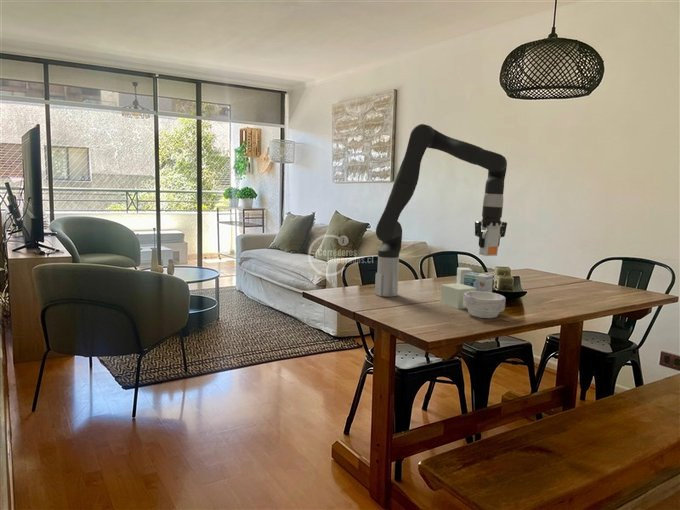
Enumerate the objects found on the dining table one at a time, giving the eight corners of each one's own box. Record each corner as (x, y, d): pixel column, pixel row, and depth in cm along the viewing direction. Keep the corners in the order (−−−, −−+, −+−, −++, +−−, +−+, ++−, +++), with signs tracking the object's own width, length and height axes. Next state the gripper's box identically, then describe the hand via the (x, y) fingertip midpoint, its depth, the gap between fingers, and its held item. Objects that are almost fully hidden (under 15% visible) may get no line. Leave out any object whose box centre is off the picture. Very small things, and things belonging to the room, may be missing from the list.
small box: (471, 292, 228) (473, 270, 226) (459, 292, 228) (460, 269, 227) (467, 289, 236) (468, 267, 234) (456, 288, 236) (457, 267, 235)
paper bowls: (512, 320, 180) (513, 298, 179) (474, 321, 177) (475, 299, 176) (491, 309, 195) (492, 290, 194) (455, 311, 192) (456, 291, 190)
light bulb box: (462, 297, 217) (463, 273, 215) (469, 295, 222) (471, 271, 220) (484, 301, 210) (486, 276, 208) (492, 299, 215) (493, 274, 213)
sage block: (457, 309, 195) (458, 289, 194) (440, 303, 205) (441, 284, 204) (475, 307, 199) (476, 288, 198) (457, 301, 209) (458, 283, 208)
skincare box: (486, 256, 194) (489, 226, 192) (478, 254, 197) (481, 224, 195) (497, 255, 196) (500, 226, 195) (489, 254, 200) (492, 224, 198)
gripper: (483, 205, 188) (479, 248, 190) (514, 206, 193) (509, 248, 195) (471, 204, 195) (468, 246, 197) (501, 205, 200) (497, 246, 202)
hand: (488, 247), depth 196 cm, fingers closed on skincare box, 6 cm apart
